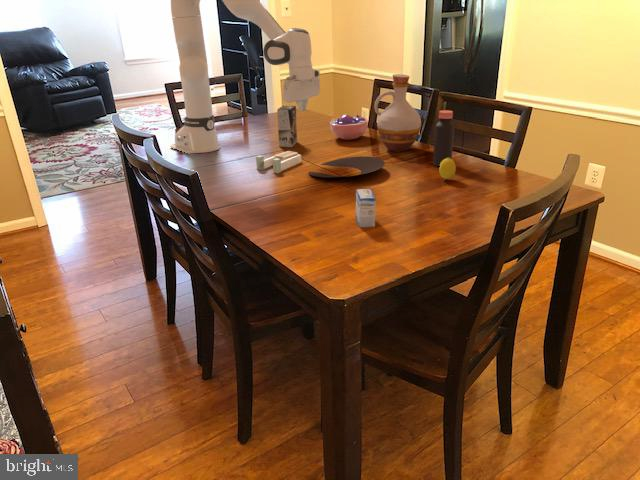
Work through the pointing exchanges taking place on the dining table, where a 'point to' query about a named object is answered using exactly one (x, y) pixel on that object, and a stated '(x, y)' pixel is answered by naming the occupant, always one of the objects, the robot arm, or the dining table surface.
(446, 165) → the lemon
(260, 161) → the green-tipped fork clamp
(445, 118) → the bottle
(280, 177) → the dining table surface
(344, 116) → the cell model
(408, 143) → the jug
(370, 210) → the medicine box
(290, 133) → the coffee box
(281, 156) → the maple block
